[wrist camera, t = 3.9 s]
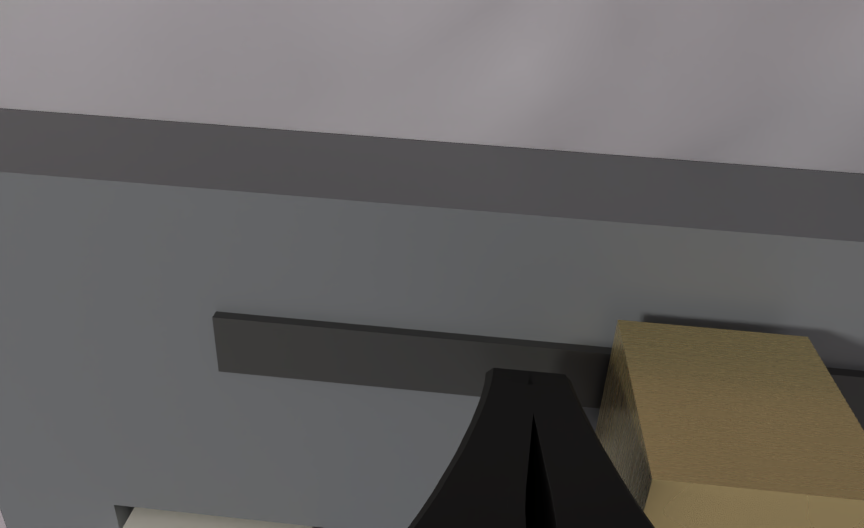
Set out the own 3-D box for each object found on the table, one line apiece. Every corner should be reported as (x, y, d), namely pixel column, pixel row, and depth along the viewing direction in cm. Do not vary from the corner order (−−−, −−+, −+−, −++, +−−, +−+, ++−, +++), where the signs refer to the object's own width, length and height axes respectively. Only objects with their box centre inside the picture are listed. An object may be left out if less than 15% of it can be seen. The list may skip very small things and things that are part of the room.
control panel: (951, 665, 21) (1019, 794, 18) (108, 568, 22) (49, 672, 19) (1246, 202, 14) (1433, 294, 11) (-9, 107, 15) (-127, 166, 12)
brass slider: (758, 474, 13) (830, 658, 10) (590, 457, 14) (612, 633, 11) (807, 336, 12) (907, 504, 9) (617, 319, 12) (652, 479, 9)
